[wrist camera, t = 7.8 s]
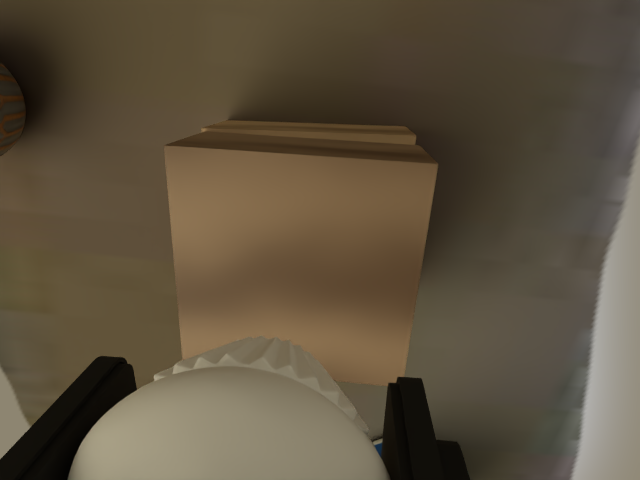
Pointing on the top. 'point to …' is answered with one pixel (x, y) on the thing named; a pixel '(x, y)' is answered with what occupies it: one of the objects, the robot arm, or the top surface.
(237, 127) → the tower base
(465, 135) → the top surface
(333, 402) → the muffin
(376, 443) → the beverage bottle
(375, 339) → the tower top
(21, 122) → the vase
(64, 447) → the robot arm
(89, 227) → the top surface
